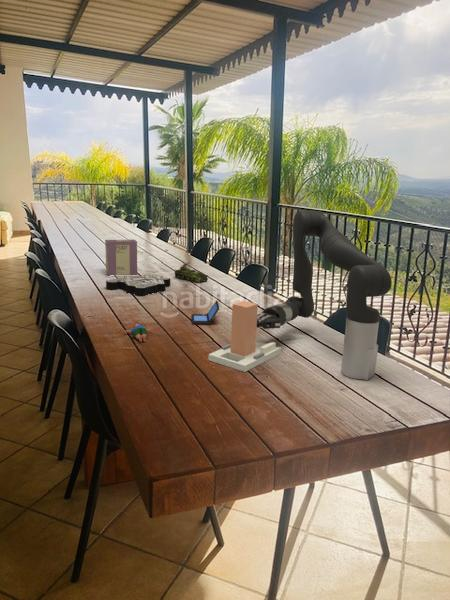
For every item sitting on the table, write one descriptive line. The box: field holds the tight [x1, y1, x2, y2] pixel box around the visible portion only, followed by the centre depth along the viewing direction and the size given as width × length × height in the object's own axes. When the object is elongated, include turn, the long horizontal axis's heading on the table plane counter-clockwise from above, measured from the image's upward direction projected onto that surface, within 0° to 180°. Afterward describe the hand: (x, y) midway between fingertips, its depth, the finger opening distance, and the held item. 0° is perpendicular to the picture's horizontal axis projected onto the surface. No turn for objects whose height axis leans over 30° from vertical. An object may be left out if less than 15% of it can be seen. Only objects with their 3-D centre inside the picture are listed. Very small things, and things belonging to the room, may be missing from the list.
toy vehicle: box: [174, 262, 209, 283], centre depth 263 cm, size 9×20×10 cm, turn 50°
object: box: [191, 300, 220, 326], centre depth 187 cm, size 12×11×7 cm
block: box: [230, 300, 259, 357], centre depth 147 cm, size 6×6×16 cm
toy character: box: [121, 321, 156, 343], centre depth 166 cm, size 12×5×15 cm
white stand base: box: [208, 340, 282, 373], centre depth 150 cm, size 14×21×4 cm, turn 143°
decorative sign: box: [105, 274, 171, 297], centre depth 240 cm, size 28×4×30 cm
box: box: [104, 239, 138, 277], centre depth 269 cm, size 17×9×20 cm, turn 111°
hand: (249, 326), depth 149 cm, fingers closed
